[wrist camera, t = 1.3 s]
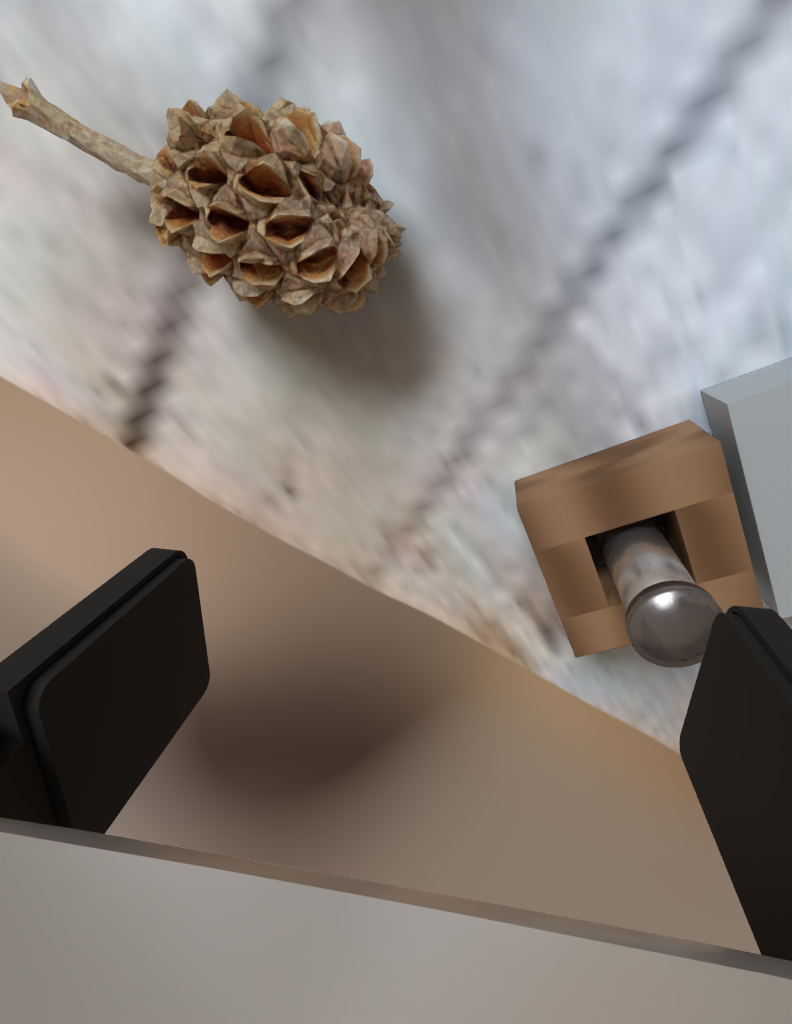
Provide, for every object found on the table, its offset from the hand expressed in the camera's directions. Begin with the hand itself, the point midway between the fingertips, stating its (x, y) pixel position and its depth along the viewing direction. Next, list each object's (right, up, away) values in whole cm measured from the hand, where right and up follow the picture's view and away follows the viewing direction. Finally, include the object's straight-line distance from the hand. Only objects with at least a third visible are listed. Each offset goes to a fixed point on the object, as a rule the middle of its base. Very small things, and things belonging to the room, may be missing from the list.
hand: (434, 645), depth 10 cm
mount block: (+14, +1, +26) cm, 30 cm away
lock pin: (+14, +2, +26) cm, 30 cm away
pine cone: (-10, +21, +23) cm, 33 cm away
